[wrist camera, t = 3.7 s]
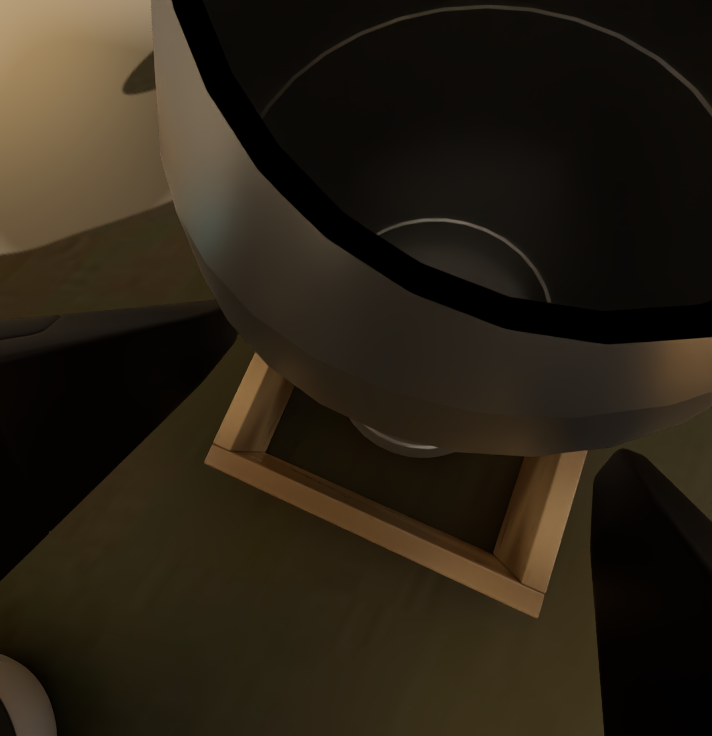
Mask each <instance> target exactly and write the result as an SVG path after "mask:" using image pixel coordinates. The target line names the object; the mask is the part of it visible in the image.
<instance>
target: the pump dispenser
mask: <svg viewBox="0 0 712 736" xmlns="http://www.w3.org/2000/svg"><path fill="white" fill-rule="evenodd" d="M0 736H57V729H56V722H55V717H54V712H53V709H52V706H51V703H50V700H49V698H48V696H47V694H46V692H45V690H44V688H43V686H42V685H41V683H40V682H39V681H38V679H37V678H36V677H35V676H34V675H33V674H32V673H31V672H30V671H29V670H28V669H27V668H26V667H24V666H23V665H22V664H20V663H19V662H17V661H15V660H13V659H11V658H9V657H7V656H4V655H2V654H0Z"/></svg>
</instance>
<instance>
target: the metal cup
mask: <svg viewBox="0 0 712 736" xmlns="http://www.w3.org/2000/svg"><path fill="white" fill-rule="evenodd" d="M151 8H152V9H151V10H152V31H153V47H154V63H155V79H156V95H157V110H158V126H159V142H160V157H161V160H162V164H163V168H164V171H165V174H166V178H167V181H168V185H169V188H170V191H171V195H172V199H173V202H174V206H175V209H176V212H177V215H178V217H179V220H180V222H181V224H182V227H183V229H184V232H185V234H186V237H187V239H188V242H189V244H190V247H191V249H192V252H193V254H194V257H195V259H196V262H197V264H198V266H199V269H200V271H201V274H202V275H203V277H204V279H205V281H206V283H207V284H208V286H209V288H210V290H211V292H212V293H213V295H214V297H215V299H216V300H217V302H218V304H219V306H220V308H221V309H222V311H223V313H224V315H225V317H226V318H227V320H228V321H229V323H230V324H231V325H232V326H233V327H234V328H235V329H236V330H237V332H238V333H239V334H240V335H241V336H242V337H243V338H244V339H245V341H246V342H247V343H248V344H249V345H250V346H251V347H252V348H253V350H254V351H255V352H256V353H257V354H258V355H259V356H260V357H261V359H262V360H263V361H264V362H265V363H266V364H267V365H268V366H269V367H271V368H272V369H273V370H275V371H276V372H277V373H279V374H280V375H281V376H283V377H284V378H285V379H287V380H288V381H290V382H291V383H292V384H294V385H295V386H296V387H298V388H299V389H300V390H302V391H303V392H304V393H306V394H307V395H308V396H310V397H311V398H313V399H314V400H315V401H317V402H318V403H319V404H321V405H323V406H326V407H328V408H330V409H332V410H334V411H336V412H338V413H340V414H343V415H345V416H347V417H349V419H350V420H351V422H352V423H353V425H354V426H355V427H356V428H357V429H358V430H359V431H360V432H361V433H362V434H363V435H364V436H365V437H366V438H368V439H369V440H370V441H372V442H373V443H374V444H376V445H377V446H379V447H381V448H383V449H385V450H387V451H390V452H392V453H395V454H399V455H403V456H407V457H416V458H431V457H439V456H444V455H447V454H450V453H453V452H464V453H479V454H494V455H510V456H525V457H536V456H544V455H552V454H560V453H568V452H576V451H585V450H593V449H601V448H609V447H613V446H616V445H619V444H622V443H625V442H628V441H631V440H634V439H637V438H640V437H643V436H646V435H649V434H652V433H655V432H658V431H661V430H664V429H667V428H670V427H673V426H676V425H679V424H682V423H685V422H686V421H688V420H690V419H691V418H693V417H695V416H696V415H698V414H700V413H701V412H703V411H705V410H707V409H708V408H710V407H712V0H151Z"/></svg>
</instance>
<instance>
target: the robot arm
mask: <svg viewBox="0 0 712 736" xmlns="http://www.w3.org/2000/svg"><path fill="white" fill-rule="evenodd" d="M237 334H238V332H237V330H236V329H235V328H234V327H233V326H232V325H231V324H230V323H229V321H228V320H227V318H226V317H225V315H224V313H223V311H222V309H221V308H220V306H219V304H218V302H217V300H208V301H198V302H188V303H177V304H167V305H157V306H146V307H136V308H126V309H115V310H105V311H95V312H85V313H74V314H64V315H62V316H60V315H53V316H43V317H32V318H20V319H8V320H0V581H1V580H2V579H3V578H4V577H5V576H6V575H7V574H8V573H9V572H10V571H11V570H12V569H13V568H14V567H15V566H16V565H17V564H18V563H19V562H20V561H21V560H22V559H23V558H24V557H25V556H26V555H27V554H28V553H29V552H30V551H32V550H33V549H34V548H35V547H36V546H37V545H38V544H39V543H40V542H41V541H42V540H43V539H44V538H45V537H46V536H47V535H48V534H49V531H51V530H53V529H54V528H55V527H56V526H57V525H58V524H59V523H60V522H61V521H62V520H63V519H64V518H65V517H66V516H67V515H68V514H69V513H70V512H71V511H72V510H73V509H74V508H75V507H76V506H77V505H78V504H79V503H80V502H81V501H82V500H83V499H84V498H85V497H86V496H87V495H88V494H89V493H90V492H91V491H92V490H93V489H94V488H95V487H96V486H97V485H98V484H99V483H101V482H102V481H103V480H104V479H105V478H106V477H107V476H108V475H109V474H110V473H111V472H112V471H113V470H114V469H115V468H116V467H117V466H118V465H119V464H120V463H121V462H122V461H123V460H124V459H125V458H126V457H127V456H128V455H129V454H130V453H131V452H132V451H133V450H134V449H135V448H136V447H137V446H138V445H139V444H140V443H141V442H142V441H143V440H144V439H145V438H146V437H147V436H148V435H149V434H150V433H151V432H152V431H154V430H155V429H156V428H157V427H158V426H159V425H160V424H161V423H162V422H163V421H164V420H165V419H166V418H167V417H168V416H169V415H170V414H171V413H172V412H173V411H174V410H175V409H176V408H177V407H178V406H179V405H180V404H181V403H182V402H183V401H184V400H185V399H186V398H187V397H188V396H189V395H190V394H191V393H192V392H193V391H194V390H195V389H196V388H197V387H198V386H199V385H200V384H201V383H202V382H203V381H204V379H205V378H206V377H207V376H208V375H209V373H210V372H211V371H212V370H213V369H214V367H215V366H216V365H217V364H218V362H219V361H220V360H221V359H222V357H223V356H224V355H225V354H226V353H227V351H228V350H229V349H230V348H231V346H232V345H233V344H234V342H235V341H236V338H237ZM590 552H591V568H592V581H593V594H594V607H595V620H596V633H597V646H598V659H599V672H600V684H601V697H602V710H603V723H604V736H712V522H711V521H710V520H709V519H708V518H707V517H706V516H705V515H704V514H703V513H702V512H701V511H700V510H699V509H698V508H697V507H696V506H695V505H694V504H693V503H692V502H691V501H690V500H689V499H688V498H687V497H686V496H685V495H684V494H683V493H682V492H681V491H680V490H679V489H678V488H677V487H676V486H675V485H674V484H673V483H672V482H670V481H669V480H668V479H667V478H666V477H665V476H664V475H663V474H662V473H661V472H660V471H659V470H658V469H657V468H656V467H655V466H654V465H653V464H652V463H651V462H650V461H649V460H648V459H647V458H646V457H645V456H643V455H641V454H638V453H636V452H633V451H630V450H627V449H624V448H623V449H619V450H617V451H616V452H615V453H614V454H613V455H612V456H611V457H610V459H609V460H608V461H607V462H606V463H605V465H604V466H603V467H602V468H601V469H600V470H599V472H598V473H597V474H596V476H595V479H594V483H593V499H592V518H591V538H590Z"/></svg>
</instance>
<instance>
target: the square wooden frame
mask: <svg viewBox="0 0 712 736" xmlns="http://www.w3.org/2000/svg"><path fill="white" fill-rule="evenodd" d="M294 387H295V385H294V384H292V383H291V382H290V381H288V380H287V379H285V378H284V377H283V376H281V375H280V374H279V373H277V372H276V371H275V370H273V369H272V368H271V367H269V366H268V365H267V364H266V363H265V362H264V361H263V360H262V359H261V357H260V356H259V355H258V354H257V353H256V352H255V354H254V356H253V359H252V361H251V363H250V365H249V367H248V369H247V371H246V373H245V376H244V378H243V380H242V382H241V384H240V386H239V388H238V390H237V393H236V395H235V397H234V399H233V401H232V403H231V405H230V407H229V410H228V412H227V414H226V416H225V418H224V420H223V422H222V425H221V427H220V429H219V431H218V433H217V435H216V437H215V439H214V442H213V443H214V444H213V445H212V446H211V448H210V450H209V453H208V455H207V457H206V459H205V461H204V463H205V464H206V465H209V466H211V467H213V468H215V469H217V470H219V471H221V472H224V473H226V474H228V475H230V476H232V477H234V478H236V479H239V480H241V481H243V482H245V483H247V484H249V485H251V486H254V487H256V488H258V489H260V490H262V491H264V492H266V493H268V494H271V495H273V496H275V497H277V498H279V499H281V500H283V501H286V502H288V503H290V504H292V505H294V506H296V507H298V508H301V509H303V510H305V511H307V512H309V513H311V514H313V515H315V516H318V517H320V518H322V519H324V520H326V521H328V522H330V523H333V524H335V525H337V526H339V527H341V528H343V529H345V530H348V531H350V532H352V533H354V534H356V535H358V536H360V537H363V538H365V539H367V540H369V541H371V542H373V543H375V544H377V545H380V546H382V547H384V548H386V549H388V550H390V551H392V552H395V553H397V554H399V555H401V556H403V557H405V558H407V559H410V560H412V561H414V562H416V563H418V564H420V565H422V566H425V567H427V568H429V569H431V570H433V571H435V572H437V573H439V574H442V575H444V576H446V577H448V578H450V579H452V580H454V581H457V582H459V583H461V584H463V585H465V586H467V587H469V588H472V589H474V590H476V591H478V592H480V593H482V594H484V595H486V596H489V597H491V598H493V599H495V600H497V601H499V602H501V603H504V604H506V605H508V606H510V607H512V608H514V609H516V610H519V611H521V612H523V613H525V614H527V615H529V616H531V617H534V618H538V617H539V613H540V610H541V606H542V603H543V600H544V594H543V593H546V590H547V587H548V583H549V580H550V577H551V573H552V570H553V566H554V563H555V560H556V556H557V553H558V549H559V546H560V543H561V539H562V536H563V532H564V529H565V526H566V522H567V519H568V516H569V512H570V509H571V505H572V502H573V499H574V495H575V492H576V488H577V485H578V482H579V478H580V475H581V471H582V468H583V465H584V461H585V458H586V455H587V451H588V450H585V451H576V452H568V453H560V454H552V455H544V456H536V457H525V456H524V459H523V462H522V465H521V468H520V471H519V474H518V477H517V480H516V483H515V487H514V490H513V493H512V496H511V499H510V502H509V505H508V508H507V511H506V514H505V517H504V521H503V524H502V527H501V530H500V533H499V536H498V539H497V542H496V545H495V548H494V551H493V554H491V553H489V552H487V551H485V550H482V549H480V548H478V547H476V546H473V545H471V544H469V543H467V542H464V541H462V540H460V539H458V538H455V537H453V536H451V535H449V534H446V533H444V532H442V531H440V530H438V529H435V528H433V527H431V526H429V525H426V524H424V523H422V522H420V521H417V520H415V519H413V518H411V517H408V516H406V515H404V514H402V513H399V512H397V511H395V510H393V509H390V508H388V507H386V506H384V505H382V504H379V503H377V502H375V501H373V500H370V499H368V498H366V497H364V496H361V495H359V494H357V493H355V492H352V491H350V490H348V489H346V488H343V487H341V486H339V485H337V484H334V483H332V482H330V481H328V480H325V479H323V478H321V477H319V476H317V475H314V474H312V473H310V472H308V471H305V470H303V469H301V468H299V467H296V466H294V465H292V464H290V463H287V462H285V461H283V460H281V459H278V458H276V457H274V456H272V455H269V454H267V453H265V452H266V450H267V447H268V445H269V443H270V441H271V438H272V436H273V434H274V432H275V429H276V427H277V425H278V423H279V420H280V418H281V416H282V414H283V411H284V409H285V407H286V405H287V402H288V400H289V398H290V396H291V393H292V391H293V389H294Z"/></svg>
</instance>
